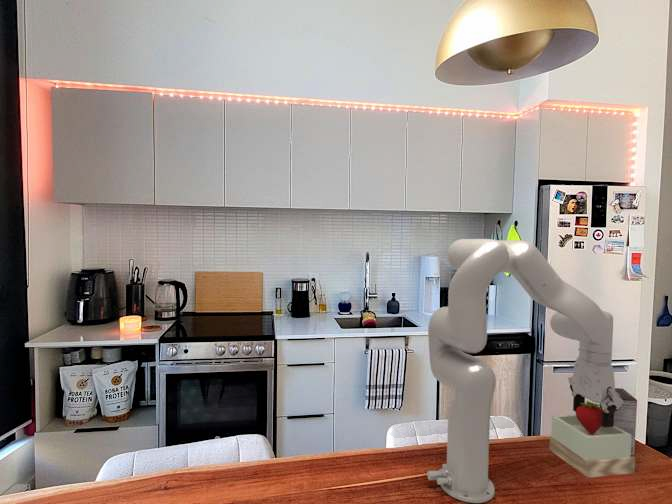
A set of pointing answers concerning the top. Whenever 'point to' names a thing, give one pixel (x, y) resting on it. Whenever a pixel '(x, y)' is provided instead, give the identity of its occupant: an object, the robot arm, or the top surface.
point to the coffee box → (626, 415)
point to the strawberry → (589, 416)
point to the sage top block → (591, 439)
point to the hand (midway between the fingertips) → (592, 418)
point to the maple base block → (593, 462)
